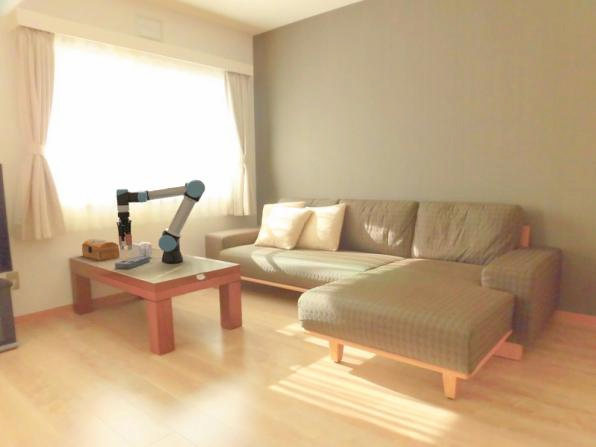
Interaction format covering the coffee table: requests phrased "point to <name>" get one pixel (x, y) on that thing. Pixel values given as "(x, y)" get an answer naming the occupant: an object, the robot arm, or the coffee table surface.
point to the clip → (128, 242)
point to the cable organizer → (141, 249)
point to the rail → (132, 262)
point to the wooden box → (100, 249)
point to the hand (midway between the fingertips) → (125, 245)
